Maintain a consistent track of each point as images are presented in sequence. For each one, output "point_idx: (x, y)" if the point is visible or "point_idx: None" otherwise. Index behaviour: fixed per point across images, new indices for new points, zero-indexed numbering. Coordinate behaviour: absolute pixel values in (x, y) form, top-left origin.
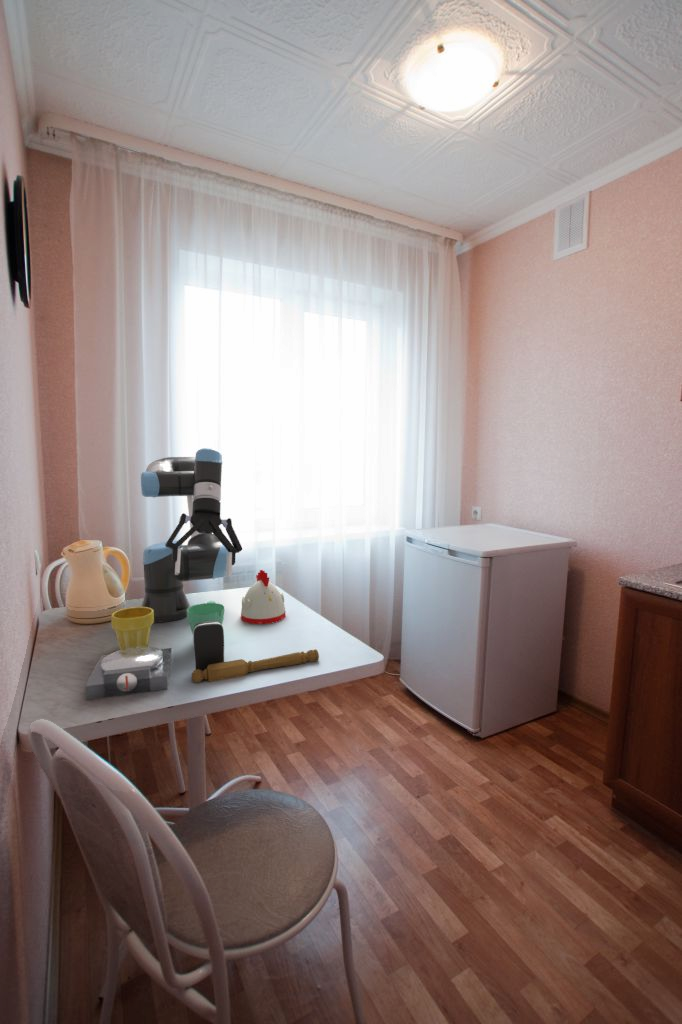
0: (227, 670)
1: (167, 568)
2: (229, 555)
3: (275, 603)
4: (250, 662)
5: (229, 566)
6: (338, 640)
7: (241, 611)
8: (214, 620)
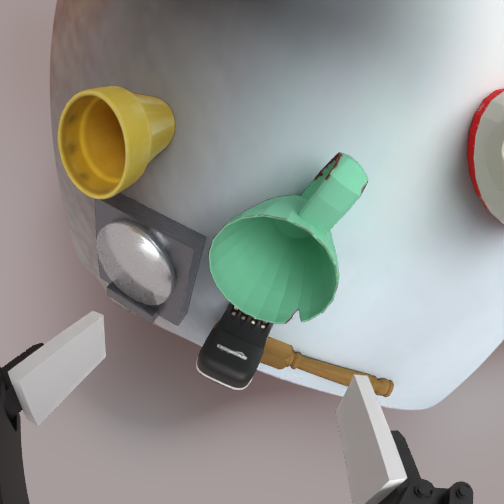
0: None
1: None
2: (352, 495)
3: None
4: (292, 368)
5: (344, 445)
6: (465, 365)
7: (485, 120)
8: (281, 304)
